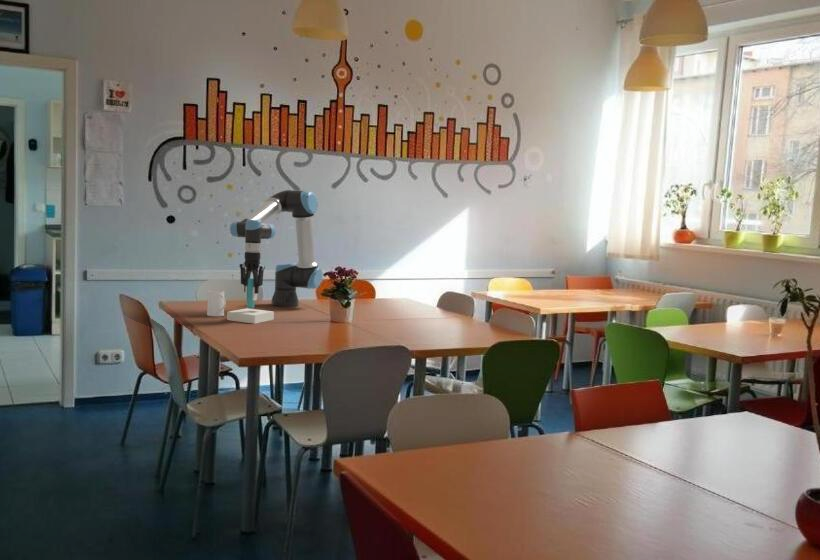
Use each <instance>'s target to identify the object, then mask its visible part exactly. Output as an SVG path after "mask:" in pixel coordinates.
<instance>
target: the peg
mask: <svg viewBox="0 0 820 560" xmlns="http://www.w3.org/2000/svg"><path fill="white" fill-rule="evenodd" d="M253 287H254V279H253V277H252V278H251V277H250V278H248V290H247V300H246V308H249V309H255V303H256V300H252V297H253Z"/></svg>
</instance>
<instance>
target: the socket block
mask: <svg viewBox="0 0 820 560" xmlns="http://www.w3.org/2000/svg"><path fill="white" fill-rule="evenodd" d="M226 314H227V315H226V316H227V317H226V320H227V321H233V322H240V323H247V324H259V323H260V324H261V323H264V322H269V321H273V320H274V319H275V318H274V317H275V311H272V310H264V309H255V308H247V307H246V308H241V309H236V310H230V311H227V312H226Z"/></svg>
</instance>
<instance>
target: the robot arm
mask: <svg viewBox="0 0 820 560" xmlns="http://www.w3.org/2000/svg"><path fill="white" fill-rule="evenodd" d="M318 202H319V201H318V198H317V196H316V194H315V193H314V192H312V191H308V190H293V189H292V190H291V189H286V190H281V191H279V192H277V193H275V194H273V195H271V196H269V198H267V199H266V201H265V203H263V204H262V205H261V206H259V207H258V208H257V209H256V210H254V211H253V212H251V213H250V214H249V215H248V216H246V217H244V218H243V219H242V220H241V221H234V222H231V224H230V227H229V233H230V235H231V236H232V237H235V238H244V239H245V240H244V251H245V252H244V262H243V263H240V264H239V265H238V266H239V268H240V284H241V285H243V287H244V289H243V291H244V293H245V294H244V299H245V300H246V301H247V290H248V278H251V275H252V276H253V277H252V278H253V279H254V287H253V297H252V300H255V301H257V300H258V294H259V287H262V286H263V281H264V272H265V271H264V270H265V268H266V266H265V265H262V264H261V250H262V248H261V246H262V245H261V244H262V240H269V239H273V238H274V237H275V235H276V228H275V226H274V225H273V224H271V223H267V221H269V219H271V218H272V217H273V216H274V215H279V214H280V213H284V212H285V213H291V215H292V217H291V218H293V219H294V220H295V231H296V243H297V244H296V245H297V257H298V262H297V263H296V262H295V263H281V264H277V265H276V266H275V272H274V274H275V275H274V278H275V279H274V292H273V295H272V298H271V300H270V302H271V305H272V306H274V307H284V308H285V307H297V306H299V305H300V303H299V302H300V301H299V297H298V293H297V288H300V289H308V290H310V289H311V290H312V289H314V290H315V289H317V288H319V287H320V286H321V282H322V281H323V273H324V272H323V270H322V268H320V267H318V265H319V264H318V262H317V261H316V259H315V250H314V249H315V247H314V236H313V235H314V234H313V221H312V218H314V216H315V213H317V211H318V207H319V206H318V205H319V204H318ZM265 222H266V223H265ZM251 273H252V274H251Z"/></svg>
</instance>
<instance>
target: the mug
mask: <svg viewBox="0 0 820 560" xmlns="http://www.w3.org/2000/svg"><path fill="white" fill-rule="evenodd" d="M226 305H227V304H226V298H225V290H219V289H218V290H217V289H215V290H213V289H212V290H207V308H206V309H207V311H206V315H207V316H208V317H224V316H225V307H226Z"/></svg>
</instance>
